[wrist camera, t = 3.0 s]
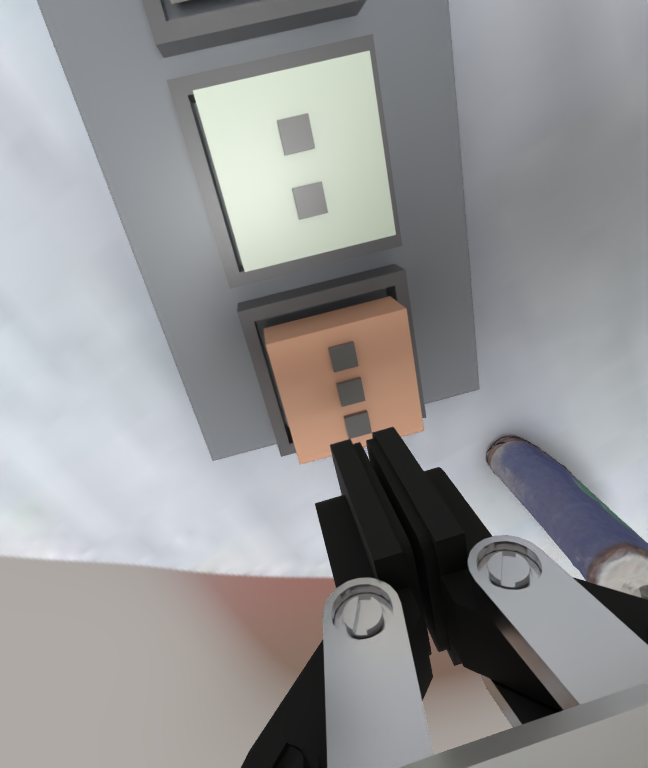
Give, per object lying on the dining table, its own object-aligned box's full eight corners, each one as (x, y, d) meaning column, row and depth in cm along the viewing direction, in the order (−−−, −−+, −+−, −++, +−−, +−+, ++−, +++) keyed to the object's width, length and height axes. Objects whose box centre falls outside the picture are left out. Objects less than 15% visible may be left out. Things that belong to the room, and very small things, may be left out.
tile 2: (354, 67, 15) (371, 48, 13) (379, 229, 17) (397, 235, 15) (199, 103, 14) (192, 89, 12) (245, 262, 16) (244, 273, 14)
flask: (475, 457, 25) (619, 625, 16) (515, 420, 25) (689, 570, 15) (564, 533, 29) (728, 709, 19) (601, 501, 28) (789, 666, 18)
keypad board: (406, -261, 14) (444, -367, 11) (465, 377, 23) (494, 402, 20) (-18, -179, 13) (-85, -273, 11) (215, 444, 23) (210, 479, 20)
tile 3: (390, 296, 18) (408, 309, 16) (407, 408, 20) (425, 433, 18) (263, 328, 17) (265, 346, 15) (294, 438, 19) (300, 467, 17)
